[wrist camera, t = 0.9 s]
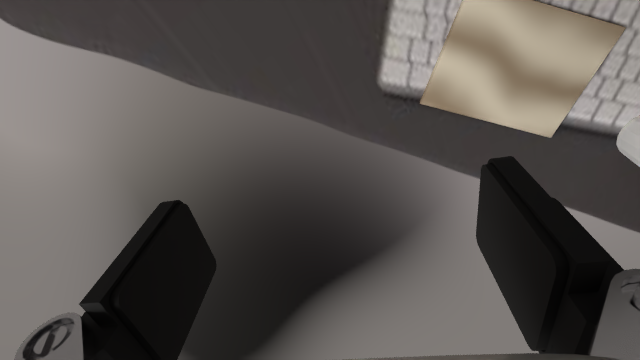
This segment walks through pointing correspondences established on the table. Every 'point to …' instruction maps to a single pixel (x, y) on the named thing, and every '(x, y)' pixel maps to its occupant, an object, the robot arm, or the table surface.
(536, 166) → the table surface
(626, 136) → the shot glass
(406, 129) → the table surface
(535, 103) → the beige cloth
